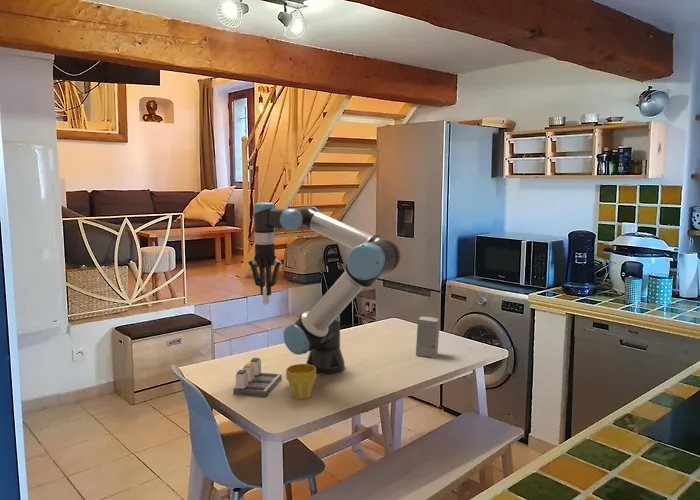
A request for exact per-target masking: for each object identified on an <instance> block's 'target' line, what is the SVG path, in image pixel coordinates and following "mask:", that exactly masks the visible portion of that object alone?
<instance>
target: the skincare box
mask: <svg viewBox="0 0 700 500" xmlns="http://www.w3.org/2000/svg"><path fill="white" fill-rule="evenodd" d="M440 321H441V319H440V318H437V317H432V316H423V315H422V316H420V317H419V318H417V330H416V342H415V343H416V346H415V356H417V357H426V358H433V359H435V358H436V356H437V355H438V353H439V351H438V350H439V336H440V333H439V332H440Z"/></svg>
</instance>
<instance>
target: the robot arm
mask: <svg viewBox="0 0 700 500" xmlns="http://www.w3.org/2000/svg"><path fill="white" fill-rule="evenodd" d="M253 207H254V208H253V220H254V221H253V222H254V243H255V244H254V257H253V259H251V260H248V265H249V266H250V268H251V273H252V275H253V279H254V283H255V284H254V285H255V286H258V287H259V288H260V295H261V296H262V304H263V305H268V304H270V296H271V295H272V287H274V286H276V285H277V279H278V275H279V271H280V266H282V264H283V261H281V260H279V259H277V256H276V244H275V241H276V239H275V229H276V230H277V229H278V230H279V229H280V230H287V231H289V230H291V231H295V230H298V229H299V228H306V229H308V230H309V231H310V230H311V231H313V232H315V233H317V234H319V235H322V236H323V237H325V238H328V239H330V240H333V241H335V242H337V243H339V244H341V245H342V246H346V247H348V248H349V249H351V250H350V251H349V253H348V255H347V258H346V261H347V262H345V264H344V271H343V272H342V274H341V275H340V276H339V277H338V278H337V279H336V281H335V282H334V284H333V285H331V286H330V287H329V289H328V290H327V291H326V292H325V294H323V296H322V297H321V298H320V299H319V300H318V301H317V303H316V304H315V305H314V307H312V309H311V310H306V311H304V312H303V313H302V314H301V315H300V316H299V318H298V319H297V320H296V321H295V322H293V323H290V324H288V325H287V326H286V327H284V328H285V329H284V330H283V341H284V345H285V347H286V348H287V349H288V350H289V351H290V353H293V354H294V355H301V356H302V355H305V354H308V357H307V360H306V363H305V364H309V365H313V366H315V367H316V374H319V375H330V374H337V373H339V372H341V371H343V370H344V369H345V359H344V356H343V353H342V350H341V315H340V314H342V312H343V311H344V310H345V309H346V308H347V306H349V304H350V303H351V302H352V301H353V300H354V299H355V298H356V297H357V295H359V293H360V292H361V291H363V289H364V288H370V287H371V286H372V285H373V284H374V283H376V281H377V280H378V279H379V278H380V277H381V276H382V275H385V274H387V273H388V274H389V273H390V272H392V271H394V270H395V269H397V267H398V266H399V265H400V262H401V255H402V254H401V250H400V248H399V246H398V245H397V244H396V243H395V242H394V241H392V240H391V239H389V238H386V237H384V236H382V235H379V234H377V233H374V234H370V233H368V232H366V231H363V230H361V229H359V228H356V227H354V226H351V225H349V224H347V223H344V222H342V221H340V220H338V219H335V218H333V217H330V216H328V215H327V214H324V213H322V212H320V210H319V209H318V208H317V207H315V206H303V207H301V206H299V207H291V208H289V207H288V208H275V204H274V203H273V202H256V203H255V204H254V206H253ZM273 264H274V268H273V273H272V266H273ZM257 265H258V267H257ZM258 271H259V272H258Z"/></svg>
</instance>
